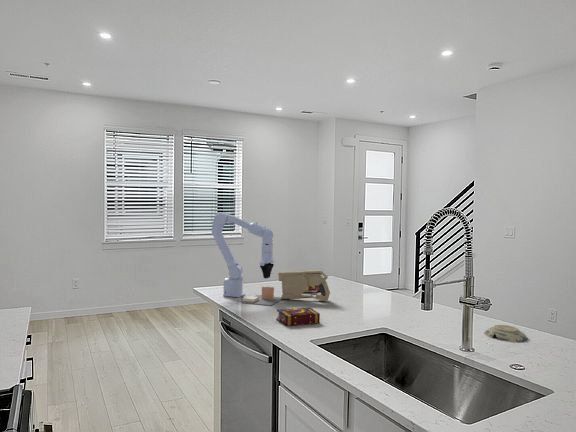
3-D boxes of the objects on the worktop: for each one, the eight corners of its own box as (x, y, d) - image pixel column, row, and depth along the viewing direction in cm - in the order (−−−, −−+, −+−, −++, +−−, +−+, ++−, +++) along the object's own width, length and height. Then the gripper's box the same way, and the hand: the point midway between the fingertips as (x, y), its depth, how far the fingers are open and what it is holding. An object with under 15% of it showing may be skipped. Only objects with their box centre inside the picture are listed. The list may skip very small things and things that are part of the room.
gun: (330, 300, 224) (328, 269, 223) (330, 301, 221) (328, 270, 220) (280, 301, 226) (279, 271, 226) (279, 303, 223) (278, 272, 223)
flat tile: (253, 302, 215) (253, 299, 215) (242, 301, 217) (242, 298, 217) (258, 300, 220) (258, 296, 220) (247, 298, 222) (247, 295, 222)
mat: (242, 303, 215) (242, 302, 215) (257, 295, 232) (257, 294, 232) (270, 306, 210) (270, 305, 210) (284, 298, 227) (284, 297, 227)
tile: (261, 298, 224) (261, 286, 224) (262, 297, 225) (263, 286, 225) (272, 299, 222) (272, 287, 222) (273, 299, 223) (274, 287, 223)
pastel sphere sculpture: (326, 294, 240) (326, 277, 240) (282, 293, 240) (283, 276, 240) (323, 285, 265) (323, 270, 265) (283, 284, 265) (283, 269, 265)
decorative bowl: (531, 336, 170) (490, 328, 180) (532, 327, 170) (490, 319, 180) (522, 346, 159) (479, 337, 168) (523, 336, 159) (479, 327, 168)
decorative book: (320, 324, 182) (320, 312, 182) (282, 327, 177) (283, 314, 176) (309, 317, 193) (309, 305, 192) (274, 319, 187) (274, 308, 187)
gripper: (269, 253, 223) (268, 280, 224) (279, 250, 237) (278, 276, 238) (256, 253, 226) (255, 279, 226) (267, 250, 239) (266, 275, 240)
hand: (266, 277), depth 232 cm, fingers closed
